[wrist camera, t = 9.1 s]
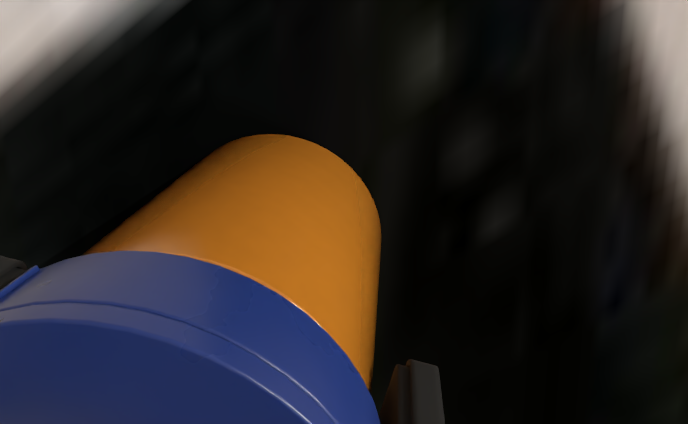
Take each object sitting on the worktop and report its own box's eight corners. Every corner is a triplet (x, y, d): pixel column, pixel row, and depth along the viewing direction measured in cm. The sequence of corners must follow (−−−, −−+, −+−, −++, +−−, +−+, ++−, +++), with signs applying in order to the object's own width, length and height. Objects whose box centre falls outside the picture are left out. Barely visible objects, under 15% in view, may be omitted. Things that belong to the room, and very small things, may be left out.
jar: (411, 289, 17) (428, 604, 8) (235, 346, 18) (82, 667, 9) (330, 99, 15) (233, 235, 6) (140, 179, 16) (-165, 385, 7)
